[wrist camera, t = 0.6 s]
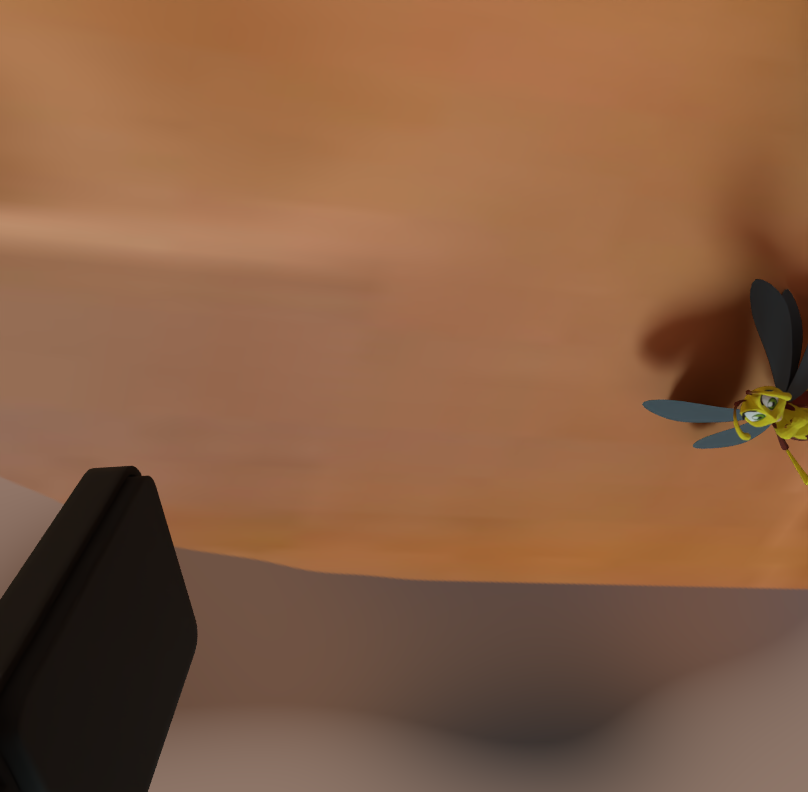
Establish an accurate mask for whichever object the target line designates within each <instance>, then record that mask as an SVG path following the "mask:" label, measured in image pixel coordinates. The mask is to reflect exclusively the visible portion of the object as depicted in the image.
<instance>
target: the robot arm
mask: <svg viewBox="0 0 808 792" xmlns="http://www.w3.org/2000/svg"><path fill="white" fill-rule="evenodd" d="M196 645H197V624H196V620H195V616H194V613H193V610H192V606H191V603H190V600H189V596H188V593H187V590H186V586H185V583H184V579H183V576H182V573H181V569H180V566H179V562H178V559H177V556H176V552H175V549H174V546H173V542H172V539H171V536H170V532H169V529H168V525H167V522H166V519H165V515H164V512H163V509H162V505H161V502H160V499H159V495H158V492H157V488H156V485H155V483H154V480H153V479H152V478H151V477H150V476H141V473H140V472H139V470H138V469H137V468H136V467H134V466H122V467H106V468H93V469H89V470H88V471H87V472H86V473H85V474H84V476H83V477H82V479H81V480H80V482H79V483H78V485H77V486H76V488H75V489H74V491H73V492H72V494H71V495H70V497H69V498H68V500H67V501H66V503H65V504H64V506H63V507H62V509H61V510H60V512H59V513H58V514H57V516H56V518H55V519H54V521H53V522H52V523H51V525H50V526H49V528H48V529H47V531H46V532H45V534H44V535H43V537H42V538H41V540H40V541H39V543H38V544H37V546H36V547H35V549H34V551H33V552H32V553H31V555H30V556H29V558H28V559H27V561H26V562H25V564H24V565H23V567H22V568H21V570H20V571H19V573H18V574H17V576H16V577H15V579H14V580H13V581H12V583H11V584H10V586H9V587H8V589H7V591H6V592H5V593H4V595H3V596H2V598H1V599H0V792H148V789H149V786H150V783H151V780H152V777H153V774H154V772H155V768H156V766H157V763H158V759H159V756H160V754H161V751H162V748H163V745H164V742H165V739H166V736H167V733H168V730H169V727H170V724H171V721H172V718H173V715H174V712H175V709H176V706H177V703H178V700H179V697H180V694H181V691H182V688H183V686H184V682H185V679H186V677H187V674H188V671H189V668H190V665H191V662H192V659H193V656H194V653H195V649H196Z"/></svg>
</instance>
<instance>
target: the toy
mask: <svg viewBox="0 0 808 792" xmlns="http://www.w3.org/2000/svg"><path fill="white" fill-rule="evenodd" d="M750 302H751V310H752V315H753V319H754V322H755V325H756V328H757V331H758V333H759V336H760V338H761V341H762V343H763V346H764V348H765V351H766V354H767V357H768V360H769V363H770V366H771V370H772V374H773V378H774V382H775V386H776V387H773V386H764V387H760V388H757V389H754V390H752V391H750V390H747V391H746V394H747V395H746V397H745V399H744V400H739V401H737V402H735V403H734V406H735V407H734V409H731V408H722V407H715V406H709V405H703V404H697V403H691V402H684V401H676V400H649V401H645V402H644V403H643V404H642V405H643V406H644V407H645V408H646V409H648V410H649V411H651V412H653V413H655V414H657V415H659V416H661V417H664V418H667V419H671V420H675V421H681V422H694V423H707V422H729V421H734V427H735V428H732V429H729V430H726V431H722V432H719V433H716V434H713V435H710V436H707V437H705V438H703V439H701V440H699V441H697V442H696V443H695V444H693V447H695V448H701V449H706V448H721V447H728V446H734V445H738V444H741V443H744V442H747V441H749V440H751V439H753V438H755V437H756V436H758V435H759V434H761V433H762V432H763V431H765V430H766V429H767V428H768V427H769V426H770V425H771V424H772V425H773V427H774V429H775V431H776V434H777V437H778V439H779V442H780V445H781V448H782V449H783V450H786V452H787V454H788V455H789V457H790V459H791V461H792V462H793V464H794V466H795V468H796V469H797V471H798V473H799V474H800V476H801V478H802V480H803V481H804V483H805V485H808V475H807V474H806V473H805V472H804V470H803V469H802V468H801V466H800V465H799V464H798V462H797V461H796V460H795V458H794V457H793V455H792V454H791V453H790V451H789V450H788V448H789V446H788V444H787V443H786V441H785V440H784V439H793V440H798V441H806V440H808V345H807V348H806V350H805V353H804V356H803V358H802V361H801V363H800V366H799V368H798V365H799V361H800V355H801V350H802V341H803V329H802V321H801V317H800V313H799V310H798V307H797V304H796V301H795V299H794V297H793V295H792V293H791V292H790V291H789V290H788V289H785V290H784V292H783V293H782V295H781V294H780V293H779V291H778V290H777V289H776V288H774V287H773V286H772V285H771V284H770V283H768V282H766V281H764V280H761V279H756V280H755V281H754V282H753V283H752V286H751V290H750ZM797 369H798V370H797ZM742 402H743V403H742ZM740 403H742V406H741V408H740V409H737V406H738V405H739V404H740ZM739 420H746V421H747V422H748V423H746V424H743V425H741V426H739V424H738V421H739Z"/></svg>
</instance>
